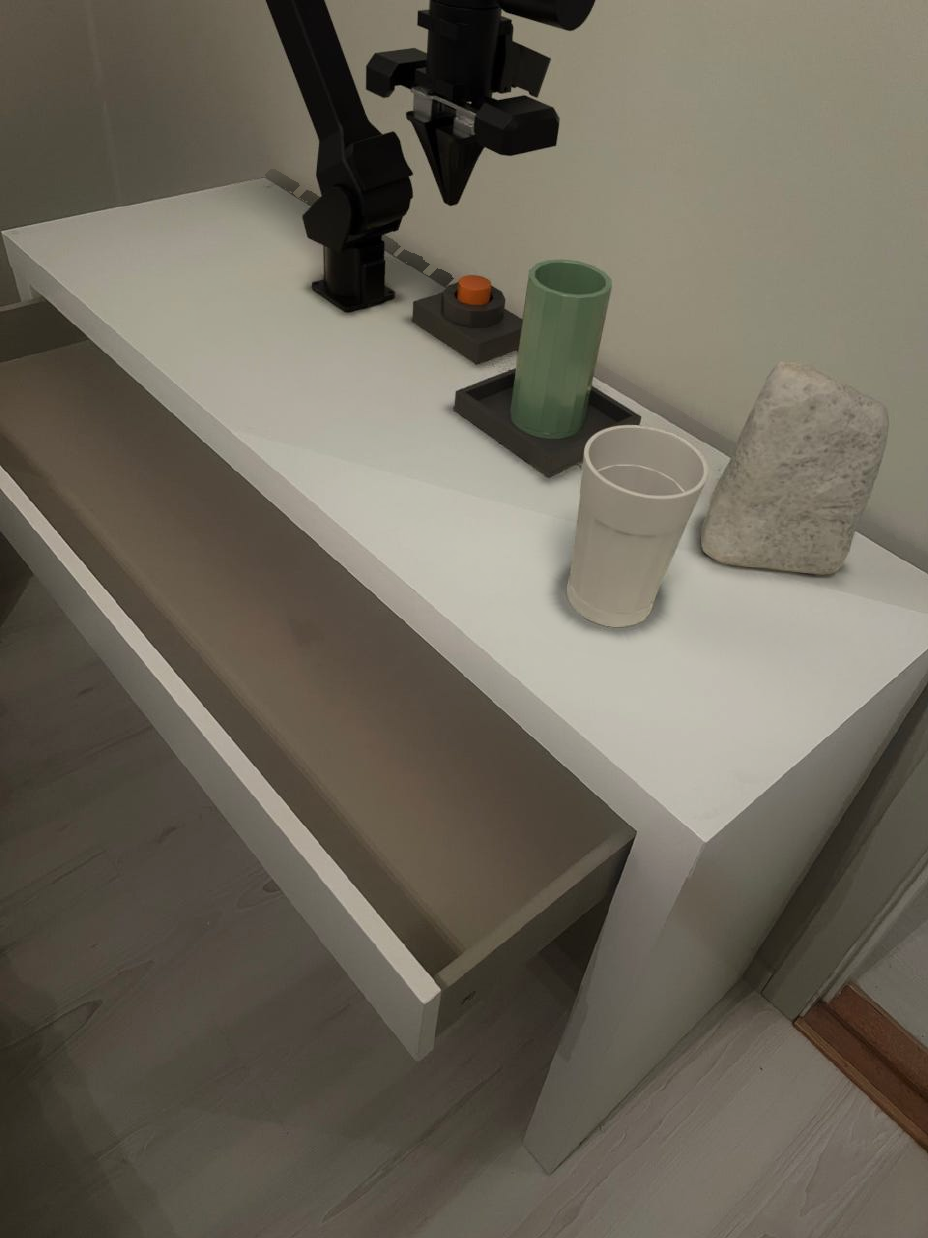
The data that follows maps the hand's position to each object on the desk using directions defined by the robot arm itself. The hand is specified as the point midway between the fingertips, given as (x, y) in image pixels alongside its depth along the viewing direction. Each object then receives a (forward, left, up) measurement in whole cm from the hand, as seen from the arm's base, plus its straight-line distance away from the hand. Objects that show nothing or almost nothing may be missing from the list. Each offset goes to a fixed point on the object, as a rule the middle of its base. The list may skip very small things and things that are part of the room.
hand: (451, 203), depth 84 cm
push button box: (+1, +3, -13) cm, 13 cm away
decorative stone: (+40, 0, -13) cm, 42 cm away
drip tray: (+17, -2, -13) cm, 21 cm away
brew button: (+1, +3, -9) cm, 10 cm away
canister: (+17, -2, -12) cm, 21 cm away
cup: (+36, -14, -13) cm, 41 cm away
